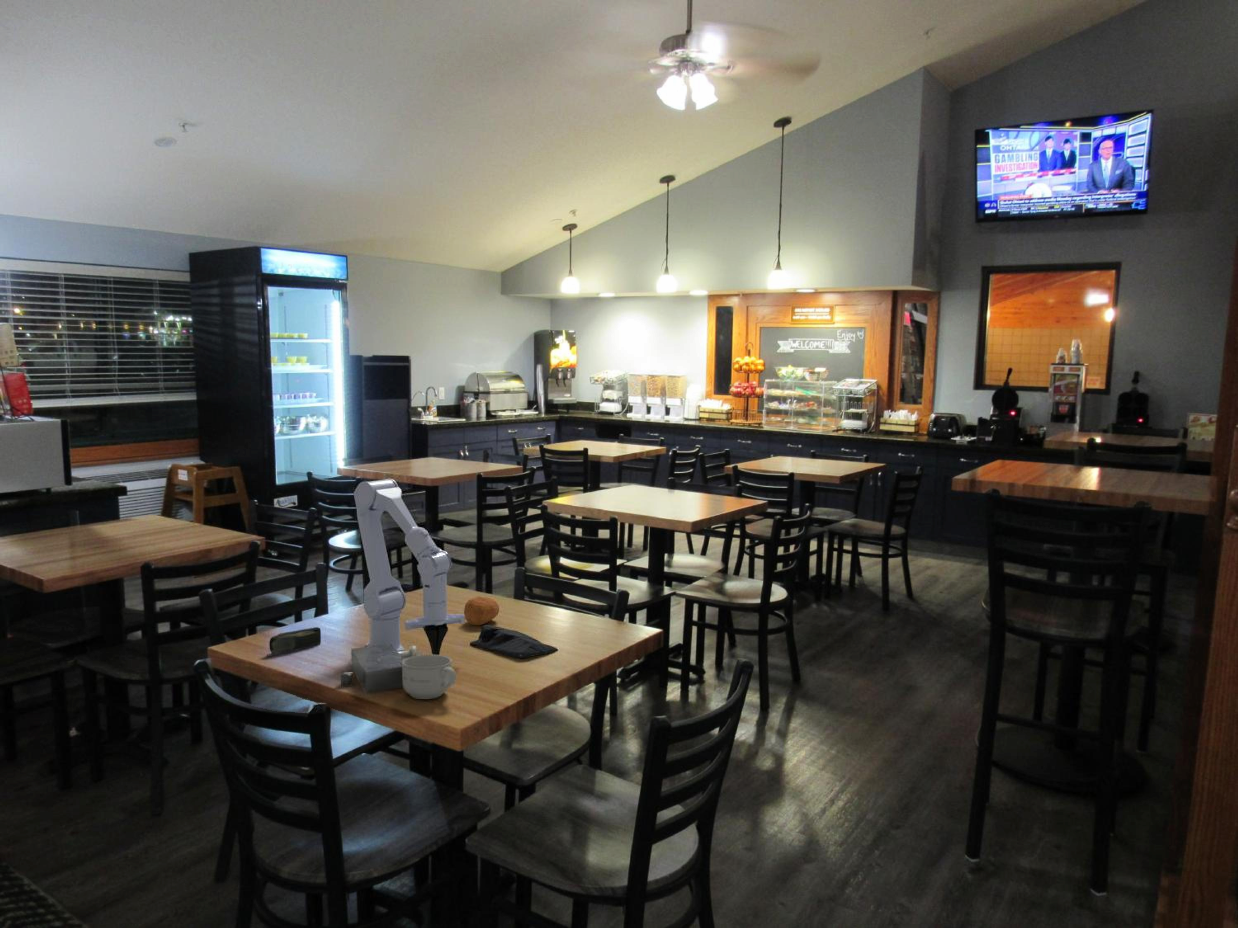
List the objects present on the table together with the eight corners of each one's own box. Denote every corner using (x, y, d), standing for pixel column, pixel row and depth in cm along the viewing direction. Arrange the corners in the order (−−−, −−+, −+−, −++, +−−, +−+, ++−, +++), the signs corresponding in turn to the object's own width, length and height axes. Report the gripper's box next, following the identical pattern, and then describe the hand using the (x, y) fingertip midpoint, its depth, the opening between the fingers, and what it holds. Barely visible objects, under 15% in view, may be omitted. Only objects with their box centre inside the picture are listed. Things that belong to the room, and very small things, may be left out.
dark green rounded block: (316, 624, 225) (262, 636, 213) (323, 627, 223) (268, 638, 211) (316, 643, 225) (262, 655, 213) (323, 645, 223) (268, 658, 212)
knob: (380, 663, 206) (380, 648, 206) (413, 659, 210) (413, 643, 210) (383, 669, 203) (383, 652, 202) (417, 664, 206) (417, 648, 206)
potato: (455, 623, 243) (455, 598, 242) (484, 615, 252) (483, 590, 251) (478, 629, 237) (478, 603, 236) (506, 620, 246) (506, 595, 245)
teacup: (393, 694, 189) (392, 659, 188) (435, 682, 196) (434, 648, 195) (426, 712, 179) (426, 675, 178) (469, 698, 186) (469, 663, 185)
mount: (351, 668, 205) (351, 648, 204) (391, 662, 209) (391, 643, 208) (366, 693, 189) (366, 671, 188) (409, 686, 193) (408, 665, 193)
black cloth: (515, 665, 209) (515, 647, 209) (465, 645, 225) (465, 627, 225) (562, 652, 220) (563, 634, 219) (512, 633, 236) (512, 616, 235)
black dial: (339, 682, 195) (339, 672, 195) (352, 681, 196) (352, 670, 196) (341, 686, 193) (341, 675, 192) (354, 684, 194) (354, 673, 194)
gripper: (409, 607, 202) (410, 663, 203) (468, 601, 209) (468, 654, 210) (402, 600, 208) (403, 654, 210) (459, 594, 215) (460, 646, 216)
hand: (435, 654), depth 210 cm, fingers closed
